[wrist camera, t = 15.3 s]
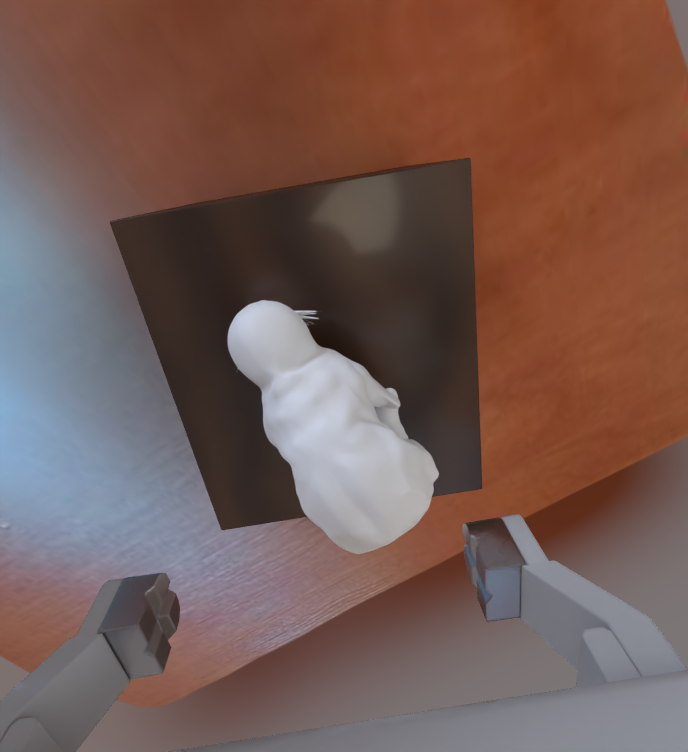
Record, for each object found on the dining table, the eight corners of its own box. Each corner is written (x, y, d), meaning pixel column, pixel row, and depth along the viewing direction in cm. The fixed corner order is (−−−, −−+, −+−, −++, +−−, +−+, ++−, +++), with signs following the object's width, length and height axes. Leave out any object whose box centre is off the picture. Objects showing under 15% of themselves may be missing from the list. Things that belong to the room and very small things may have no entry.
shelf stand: (253, 416, 42) (221, 530, 28) (193, 203, 34) (108, 221, 21) (429, 387, 42) (482, 489, 28) (410, 165, 34) (470, 157, 20)
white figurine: (341, 598, 19) (142, 389, 16) (343, 485, 27) (211, 331, 24) (468, 527, 18) (279, 284, 14) (430, 430, 26) (303, 260, 22)
